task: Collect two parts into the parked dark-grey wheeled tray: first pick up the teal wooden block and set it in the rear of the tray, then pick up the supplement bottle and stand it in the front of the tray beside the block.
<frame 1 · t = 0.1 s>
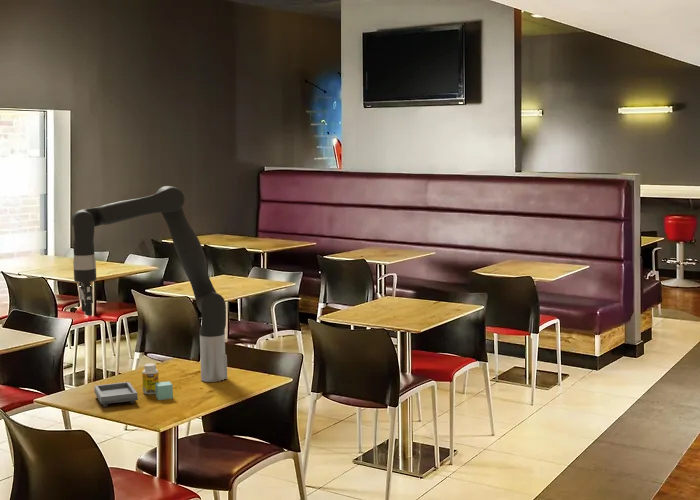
hand: (86, 313, 310), 29 cm above the table, tool pointing down, fingers open, 8 cm apart
supplement bottle: (151, 393, 315), on the table
teal block: (164, 397, 309), on the table
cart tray: (115, 400, 305), on the table
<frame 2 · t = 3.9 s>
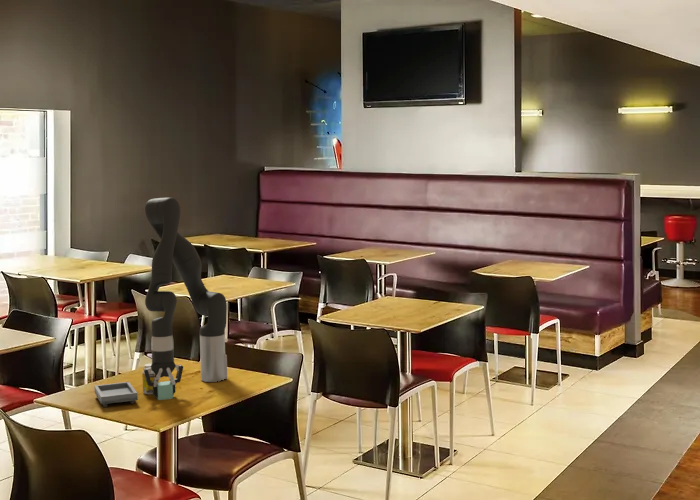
hand: (164, 395, 308), 1 cm above the table, tool pointing down, fingers closed on teal block, 5 cm apart
teal block: (164, 397, 308), on the table, touching gripper
everything else where it was.
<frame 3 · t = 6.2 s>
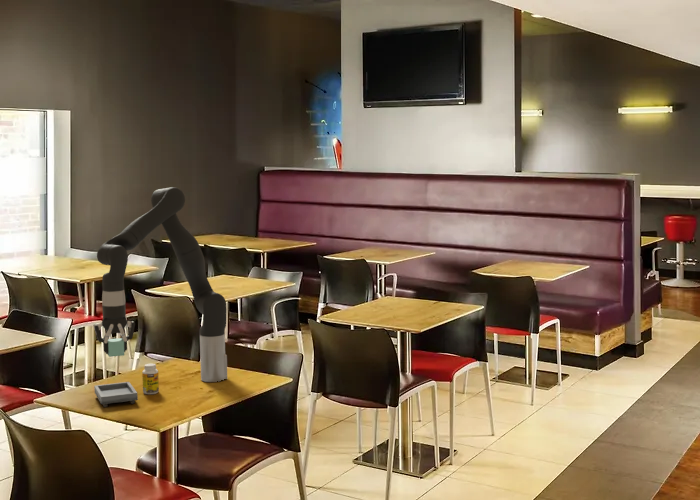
hand: (115, 352, 300), 18 cm above the table, tool pointing down, fingers closed on teal block, 5 cm apart
teal block: (115, 354, 300), point 17 cm above the table, touching gripper
everything else where it was.
when the fingers open (4 cm above the table, at t = 8.7 s): teal block drops 1 cm, resting on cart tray.
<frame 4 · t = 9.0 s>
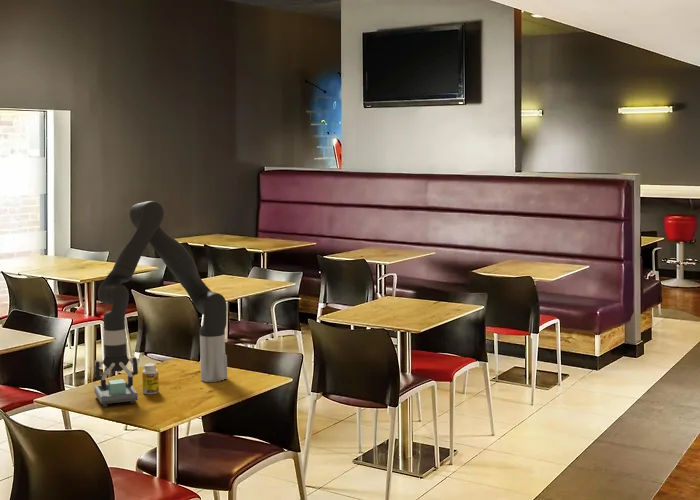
hand: (117, 388, 301), 5 cm above the table, tool pointing down, fingers open, 8 cm apart
teal block: (117, 395, 302), point 2 cm above the table, touching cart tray
everything else where it was.
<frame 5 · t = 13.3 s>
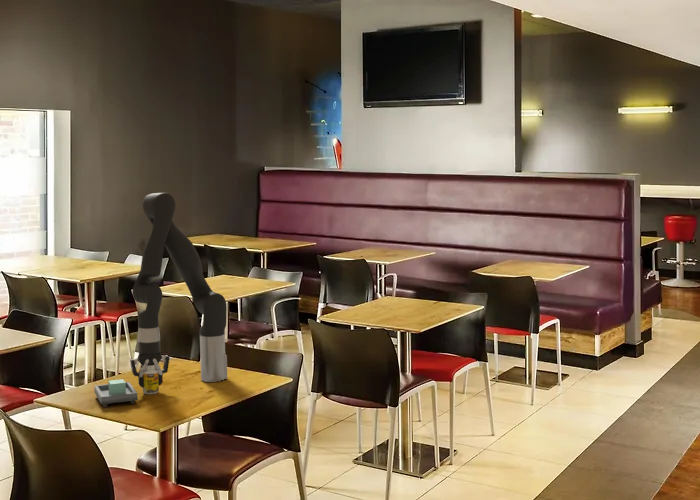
hand: (150, 385, 314), 3 cm above the table, tool pointing down, fingers closed on supplement bottle, 5 cm apart
supplement bottle: (151, 393, 315), on the table, touching gripper
everything else where it was.
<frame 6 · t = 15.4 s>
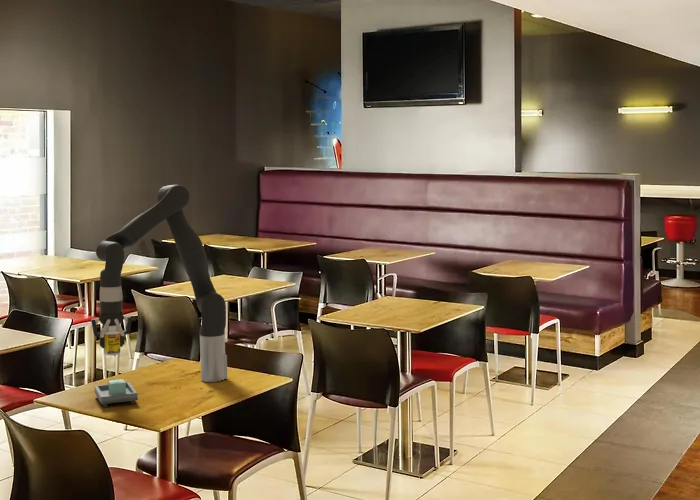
hand: (112, 346, 306), 18 cm above the table, tool pointing down, fingers closed on supplement bottle, 5 cm apart
supplement bottle: (112, 354, 307), point 15 cm above the table, touching gripper
everything else where it was.
when the fingers open (6 cm above the table, at t = 17.7 s): supplement bottle drops 1 cm, resting on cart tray.
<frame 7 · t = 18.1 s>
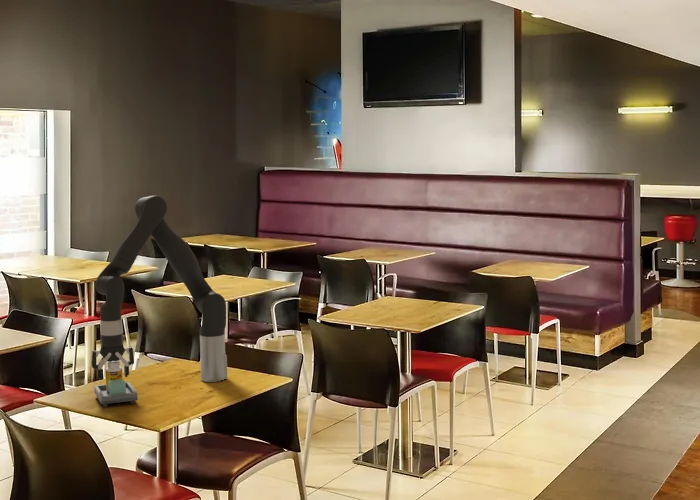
hand: (113, 378, 308), 7 cm above the table, tool pointing down, fingers open, 8 cm apart
supplement bottle: (114, 391, 308), point 2 cm above the table, touching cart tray
everything else where it was.
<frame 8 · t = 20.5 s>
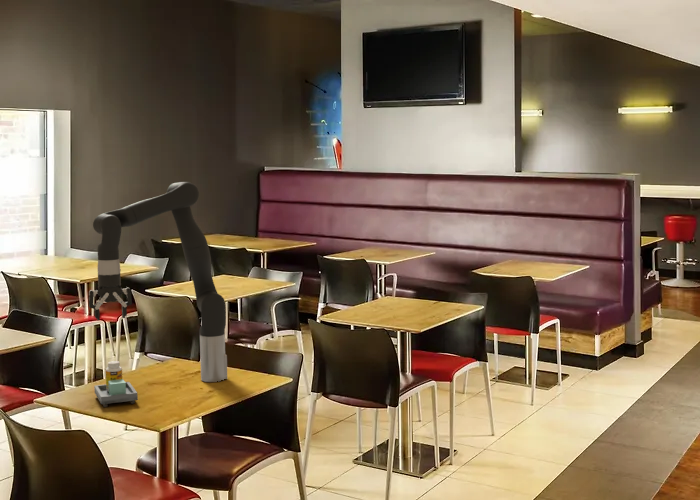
hand: (111, 318, 305), 28 cm above the table, tool pointing down, fingers open, 8 cm apart
nothing on the table moved.
at the end: supplement bottle inside the target area on the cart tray (3.5 cm from its centre), point 2.3 cm above the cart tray's base; teal block inside the target area on the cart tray (3.5 cm from its centre), point 2.5 cm above the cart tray's base; supplement bottle tilted 0° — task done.
